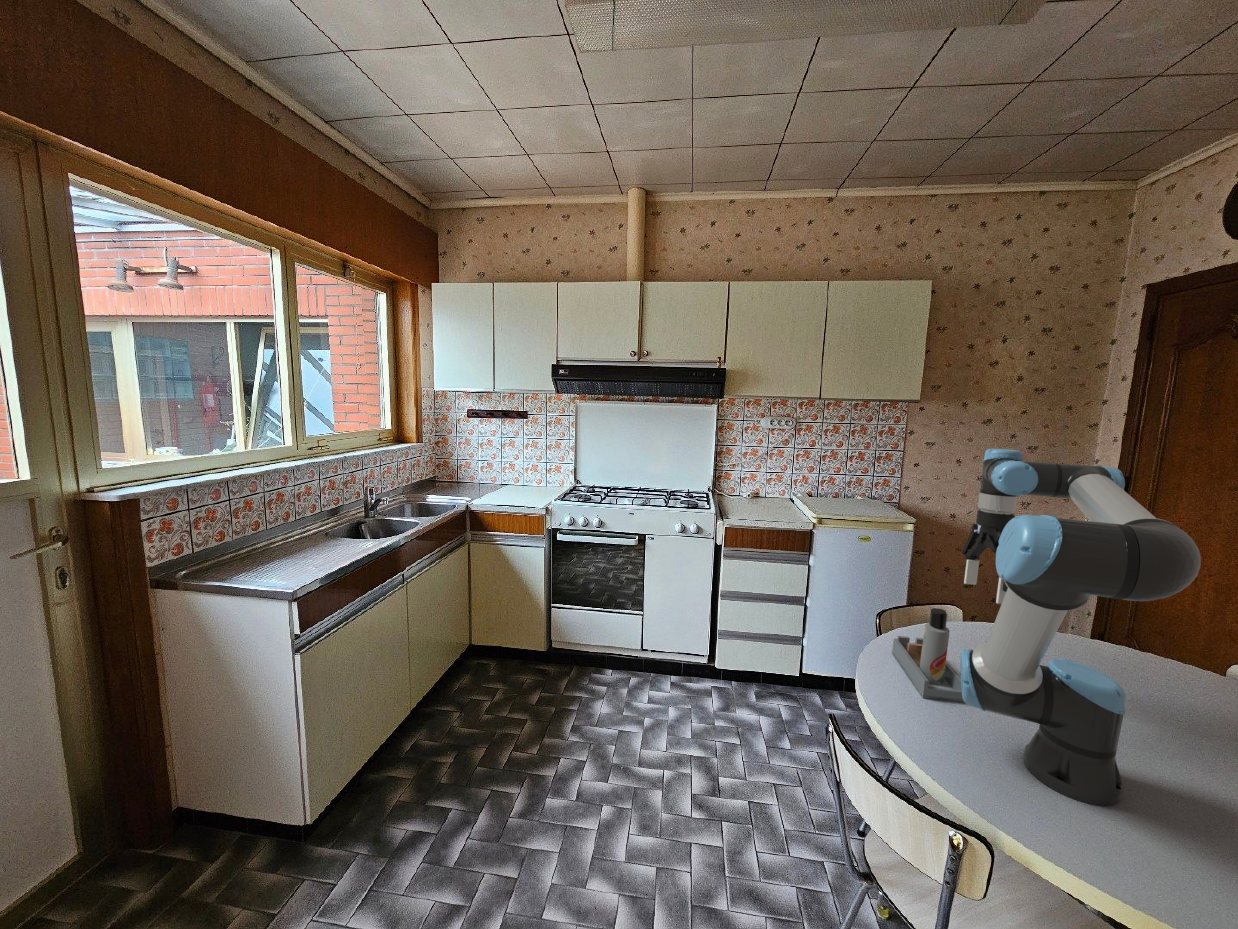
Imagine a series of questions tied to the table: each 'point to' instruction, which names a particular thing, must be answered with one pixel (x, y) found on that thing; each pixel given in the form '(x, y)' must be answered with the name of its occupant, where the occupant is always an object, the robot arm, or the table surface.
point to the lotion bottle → (935, 647)
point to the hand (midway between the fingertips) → (985, 593)
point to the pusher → (915, 652)
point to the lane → (944, 692)
